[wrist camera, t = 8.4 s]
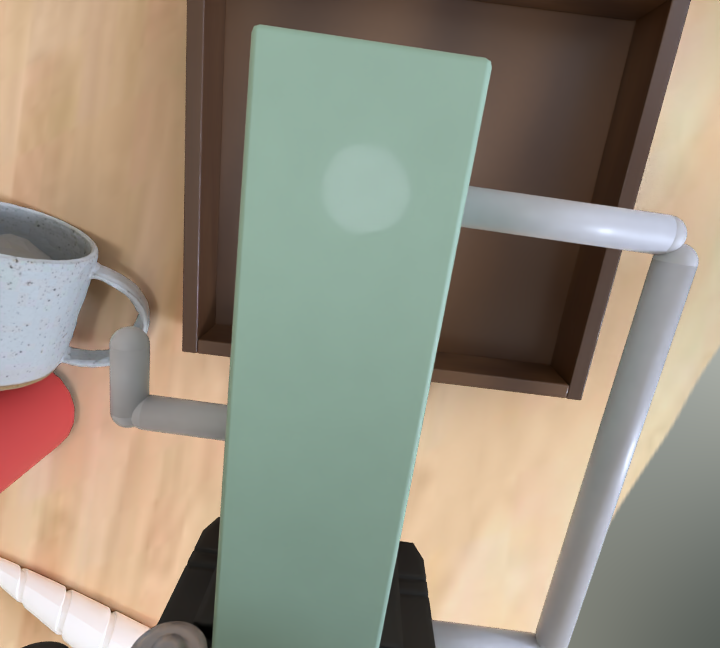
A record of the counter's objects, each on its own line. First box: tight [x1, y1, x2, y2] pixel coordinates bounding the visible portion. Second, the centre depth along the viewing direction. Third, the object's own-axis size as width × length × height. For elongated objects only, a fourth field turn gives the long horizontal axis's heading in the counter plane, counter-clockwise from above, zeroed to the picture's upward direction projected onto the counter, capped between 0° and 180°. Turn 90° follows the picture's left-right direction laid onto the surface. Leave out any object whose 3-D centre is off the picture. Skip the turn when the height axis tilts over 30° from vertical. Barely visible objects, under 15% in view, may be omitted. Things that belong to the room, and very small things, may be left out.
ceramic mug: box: [0, 202, 150, 391], centre depth 25 cm, size 11×8×8 cm
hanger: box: [109, 24, 698, 648], centre depth 9 cm, size 12×14×5 cm
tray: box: [182, 0, 691, 400], centre depth 24 cm, size 22×20×4 cm
